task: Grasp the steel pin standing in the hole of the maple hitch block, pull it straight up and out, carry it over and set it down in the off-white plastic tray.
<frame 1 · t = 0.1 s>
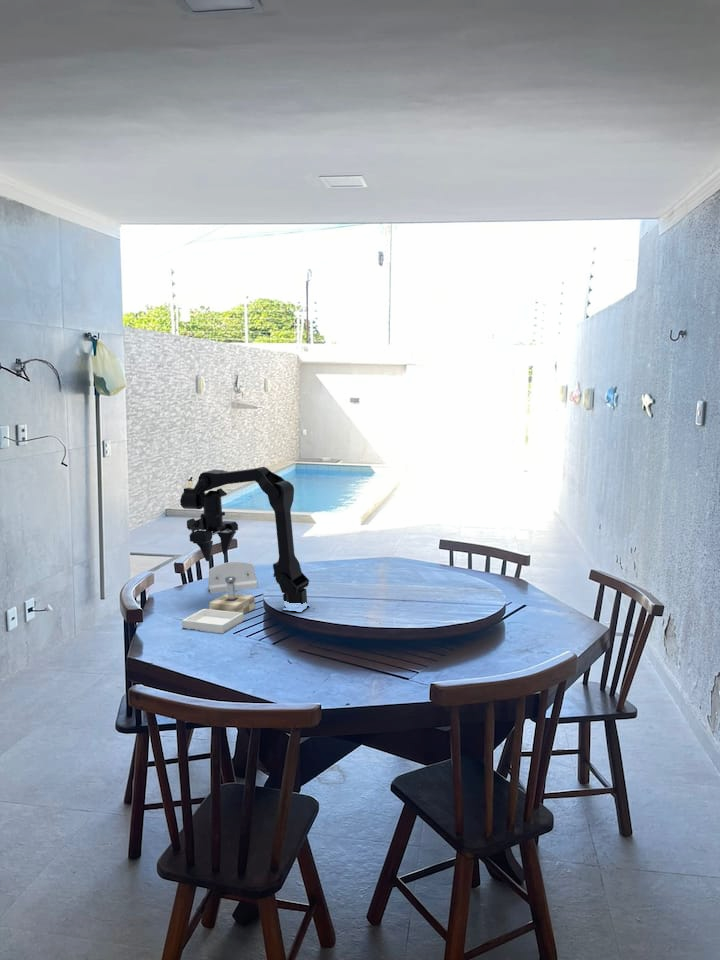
hand: (216, 557, 246), 15 cm above the table, tool pointing down, fingers open, 9 cm apart
tray: (213, 624, 226), on the table
pin: (231, 594, 237), in the hitch block
hitch block: (232, 611, 237), on the table
hinge: (233, 588, 263), on the table
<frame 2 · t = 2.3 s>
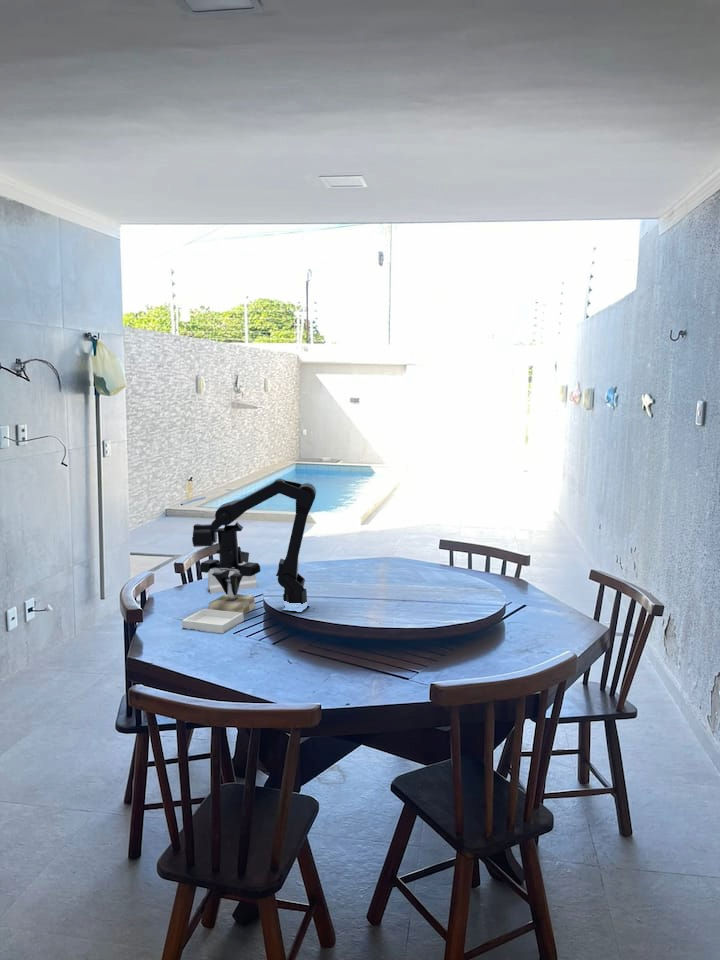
hand: (231, 594, 237), 6 cm above the table, tool pointing down, fingers closed on pin, 2 cm apart
pin: (231, 594, 237), in the hitch block, touching gripper
everything else where it was.
when the fingers open (8 cm above the table, at t = 6.1 s): pin drops 1 cm, resting on tray.
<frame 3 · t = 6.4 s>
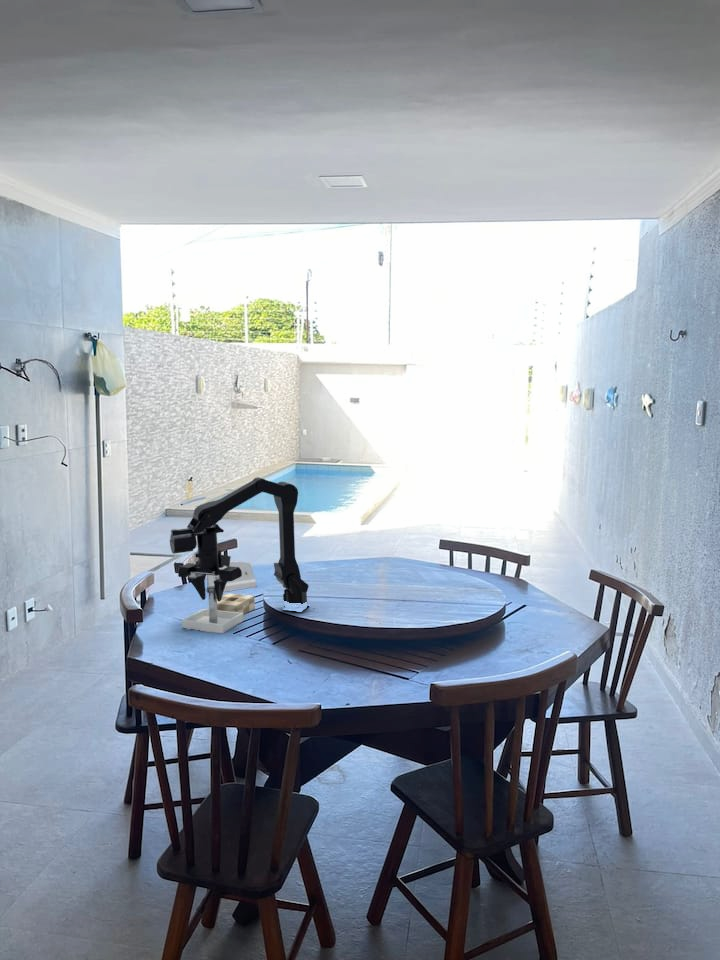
hand: (211, 600, 225), 7 cm above the table, tool pointing down, fingers open, 5 cm apart
pin: (213, 605, 225), in the tray
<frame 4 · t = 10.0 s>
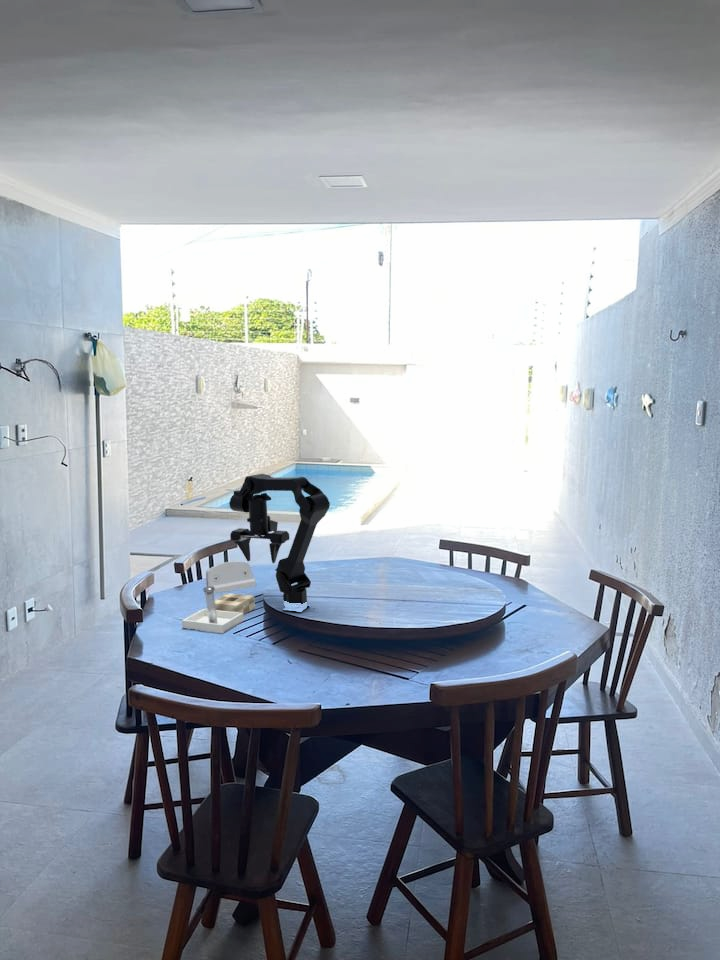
hand: (261, 561, 245), 13 cm above the table, tool pointing down, fingers open, 9 cm apart
at the end: pin inside the target area on the tray (0.0 cm from its centre), point 6.0 cm above the tray's base; the gripper is holding nothing; pin moved 12.0 cm from its start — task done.
